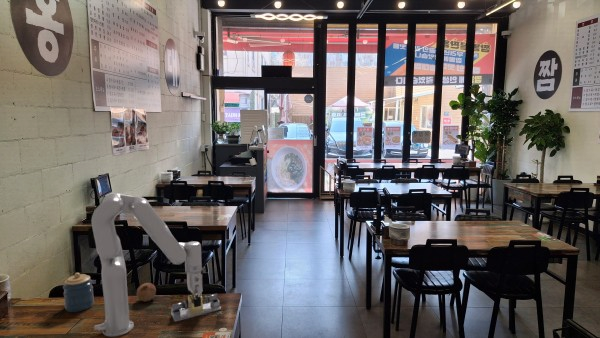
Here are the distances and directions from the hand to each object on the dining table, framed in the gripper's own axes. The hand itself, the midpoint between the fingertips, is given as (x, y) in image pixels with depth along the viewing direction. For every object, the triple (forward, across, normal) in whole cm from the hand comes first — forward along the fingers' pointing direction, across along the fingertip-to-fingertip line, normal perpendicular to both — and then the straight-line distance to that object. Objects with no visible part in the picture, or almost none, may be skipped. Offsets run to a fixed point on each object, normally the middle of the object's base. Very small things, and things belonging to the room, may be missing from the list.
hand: (194, 302), depth 188 cm
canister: (+6, +38, +47) cm, 61 cm away
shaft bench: (+5, 0, -1) cm, 5 cm away
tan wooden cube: (+4, 0, 0) cm, 4 cm away
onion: (+6, +27, +17) cm, 33 cm away
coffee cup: (+5, +18, -6) cm, 19 cm away
